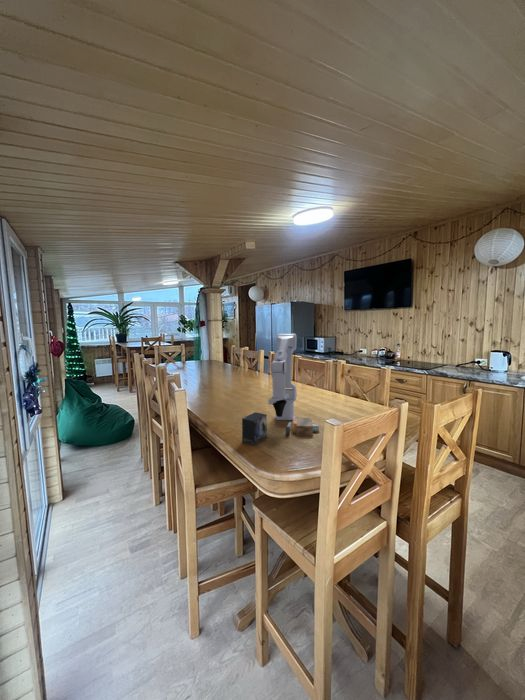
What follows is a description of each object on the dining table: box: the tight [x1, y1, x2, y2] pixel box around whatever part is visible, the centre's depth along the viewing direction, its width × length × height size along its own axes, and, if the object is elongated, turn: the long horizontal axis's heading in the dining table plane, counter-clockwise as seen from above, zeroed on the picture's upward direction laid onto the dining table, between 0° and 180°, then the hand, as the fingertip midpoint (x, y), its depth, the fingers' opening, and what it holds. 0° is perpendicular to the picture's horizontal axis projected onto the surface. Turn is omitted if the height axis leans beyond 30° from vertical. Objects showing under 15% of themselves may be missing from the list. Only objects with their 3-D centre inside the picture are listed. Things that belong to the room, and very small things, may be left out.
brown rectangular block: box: [292, 419, 320, 434], centre depth 142 cm, size 12×6×4 cm, turn 84°
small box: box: [241, 411, 268, 446], centre depth 132 cm, size 11×6×10 cm, turn 148°
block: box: [296, 417, 314, 436], centre depth 142 cm, size 7×12×4 cm, turn 174°
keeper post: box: [285, 425, 291, 437], centre depth 137 cm, size 2×2×4 cm
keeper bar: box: [287, 421, 292, 430], centre depth 142 cm, size 8×1×2 cm, turn 169°
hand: (279, 416), depth 141 cm, fingers closed
